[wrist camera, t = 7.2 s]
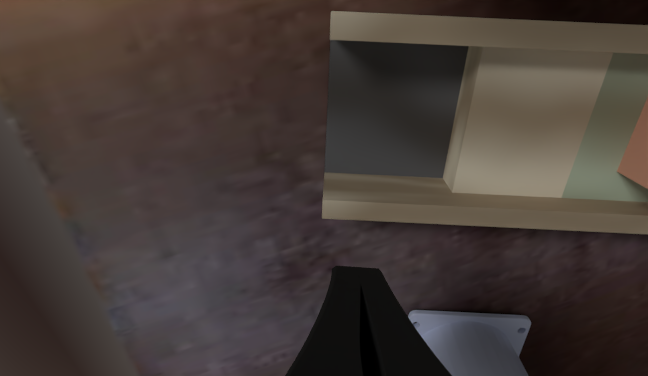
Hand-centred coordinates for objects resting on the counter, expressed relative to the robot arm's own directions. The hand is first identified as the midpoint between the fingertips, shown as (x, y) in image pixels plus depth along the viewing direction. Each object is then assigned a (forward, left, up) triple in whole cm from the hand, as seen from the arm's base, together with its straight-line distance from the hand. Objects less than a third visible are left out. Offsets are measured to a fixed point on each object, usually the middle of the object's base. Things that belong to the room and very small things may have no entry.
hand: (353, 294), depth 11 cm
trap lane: (+3, -12, -10) cm, 16 cm away
